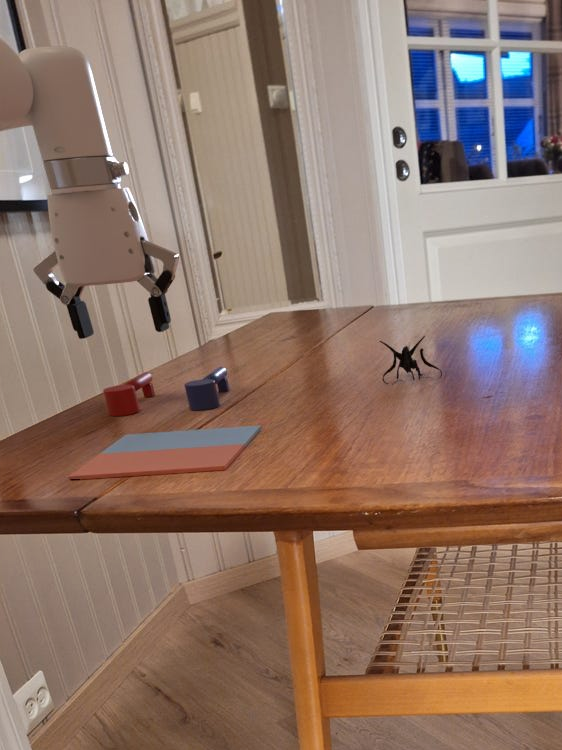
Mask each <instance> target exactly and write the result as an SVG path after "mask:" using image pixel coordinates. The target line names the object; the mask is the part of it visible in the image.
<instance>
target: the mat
mask: <svg viewBox="0 0 562 750" xmlns="http://www.w3.org/2000/svg"><path fill="white" fill-rule="evenodd" d="M261 430H262V426H261V425H249V426H248V425H245V426H244V425H243V426H232V427H216V428H203V429H201V428H199V429H189V430H173V431H172V430H171V431H157V432H144V433H129V434H127V433H126V434H125V435H123V436H122V437H121V438H119V439H118V440H116V441H115V442H114V443H112V444H110V445H109V446H108V447H106V449H104V450H103V451H101V452H100V453H98V454H97V455H96V456H94V457H93V458H91V459H90V460H89V461H87V462H86V463H85V464H83V465H82V466H80V467H79V468H77V470H75V471H73V472H72V473H71V474H69V476H68V480H69V479H80V480H93V479H107V478H109V479H110V478H124V477H125V478H126V477H139V476H154V475H155V476H156V475H167V474H182V473H198V472H200V473H201V472H213V471H214V472H215V471H226V470H227V469H228V468H229V466H230V465H231V464H232V463H233V462H234V461H235V460H236V459H237V458H238V457H239V455H240V454H241V453H242V452H243V450H244V449H245V448H246V447H247V446H248V445H249V444H250V443H251V441H252V440H253V439H254V438H255V437H256V436H257V434H259V432H261Z"/></svg>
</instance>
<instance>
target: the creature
mask: <svg viewBox="0 0 562 750" xmlns="http://www.w3.org/2000/svg"><path fill="white" fill-rule="evenodd" d="M425 337H426V335H424V336H422V337H421V338H420V339H419V340H418V342H417V343H415V345H413V346H412V348H411V349H410V347H409V346H408V345H410V344H411V343H410V342H408V345H405V346H404V347H403V348H402V350H401V352H398V351H397V350H395V349H394V347H392V346H390V345H389V344H387V343H385V342H384V341H382V340H379V343H381V344H382V345H384V346H385V347H387V349H389V351H391V352H392V354H393V363H392V365H391V366H390V368H388V370H386V371H385V372H384V373H383V375H382V379H381V380H382V382H383V383H384V384H385V385H388V384H389V382H386V381H385V376H386V375H387V374H388V373H390V372H392V371H393V370H394V369H396V367H397V369H396V377H395V379H396V381H394V382H393V383H394V384H396V383H398V382H402V379H399V378H400V377H399V376H400V373H399V372H400V371H399V370H400V368H401V369H403V370H404V371H405V373H407V374H409V373H411V376H412V380H413V381H415V375H414V371H413V370H415V372H417V376H418V380H421V379H424V378H426V379H427V378H428V379H432V377H429V376H426V374H425V373H422V372H421V370H420V367H419V365H418V361H417V360H416V359H414V358H413V355H414V353H415V351H416V349H417V348H418V346H419V345H420V343H421V342H422V341H423V340H424V338H425ZM419 353H420V354H419V355H420V359H421V361H422V362H423V364H424V365H425V366H426V367H429V368H433V369H436V370H438V371H439V372H440V376H439V377H438V378H439V379H441V378H442V376H443V371H442V370H441V369H440V368H439V367H437V366H435V365H434V364H432V363H430V362H429V361H427V360H426V358H425V356H424V348H420V349H419ZM397 360H399V363H398V366H397Z"/></svg>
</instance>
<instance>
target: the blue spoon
mask: <svg viewBox="0 0 562 750" xmlns="http://www.w3.org/2000/svg"><path fill="white" fill-rule="evenodd" d="M227 375H228V370H227V369H226V368H225V367H223V366H219V367H217V368H216V369H214V370H213V371H212V372H210V373H209V374H208V375H206V376H205V377H203V378H201V379H196V380H190V381H187V382H185V383H184V389H185V393H186V397H187V403H188V406H189V410H190V411H195V412H196V411H197V412H199V411H200V412H201V411H208V410H212V409H216V408H218V407H220V405H221V403H220V399H219V394H218V393H225V392H227V393H228V392H229V391H230V386H229V381H228V377H227Z"/></svg>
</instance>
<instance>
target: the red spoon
mask: <svg viewBox="0 0 562 750" xmlns="http://www.w3.org/2000/svg"><path fill="white" fill-rule="evenodd" d="M152 375H153V374H151V373H150V372H147V371H145V372H142V373H141V374H139V375H136V376H135V377H134V378H132V379H130V380H129V381H127V382H126V383H124V384H119V385H114V386H108V387H106V388H104V389H103V390H102V392H103V395H104V398H105V403H106V406H107V407H106V408H107V410H108V414H109V416H111V417H125V416H129V415H134V414H137V413H139V412H140V411H141V408H140V404H139V399H138V396H137V393H136V392H138V391H139V390H140V389H141V390H142V394H143V398H153V397H155V396H156V393H155V389H154V385H153V383H152V382H153V376H152Z"/></svg>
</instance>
